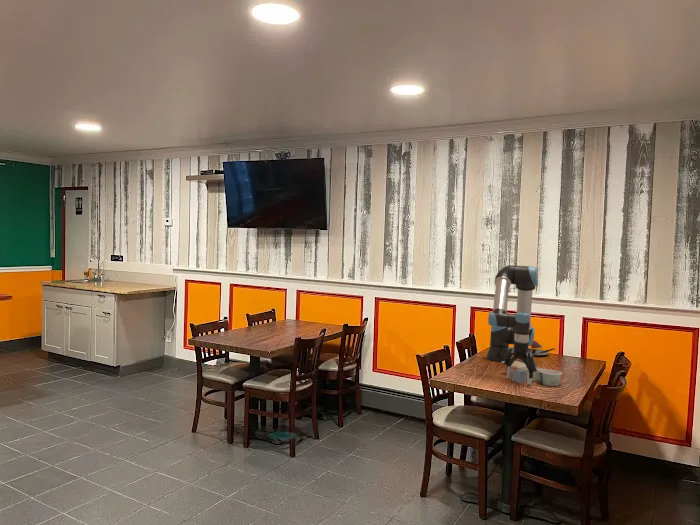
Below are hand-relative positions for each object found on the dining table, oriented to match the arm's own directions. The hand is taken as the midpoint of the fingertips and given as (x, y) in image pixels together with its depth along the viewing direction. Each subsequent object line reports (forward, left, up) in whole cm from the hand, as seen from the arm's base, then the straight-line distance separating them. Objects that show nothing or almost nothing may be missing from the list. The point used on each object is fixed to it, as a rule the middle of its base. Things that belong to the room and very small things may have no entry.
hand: (518, 381), depth 294 cm
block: (0, 0, 0) cm, 0 cm away
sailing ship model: (-56, +73, 0) cm, 92 cm away
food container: (+10, +13, 0) cm, 16 cm away
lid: (-13, +11, +6) cm, 18 cm away
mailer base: (-2, +11, 0) cm, 11 cm away
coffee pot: (-13, +29, 0) cm, 32 cm away
